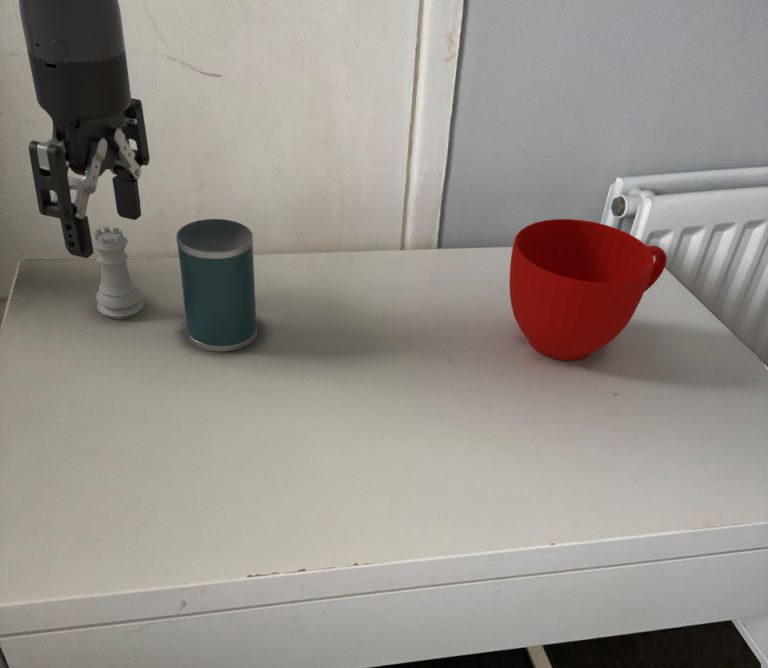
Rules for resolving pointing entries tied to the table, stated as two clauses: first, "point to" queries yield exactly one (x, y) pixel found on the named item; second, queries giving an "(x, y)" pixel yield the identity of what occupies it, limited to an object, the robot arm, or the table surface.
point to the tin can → (218, 283)
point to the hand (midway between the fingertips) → (106, 235)
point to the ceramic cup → (578, 284)
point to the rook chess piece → (115, 277)
